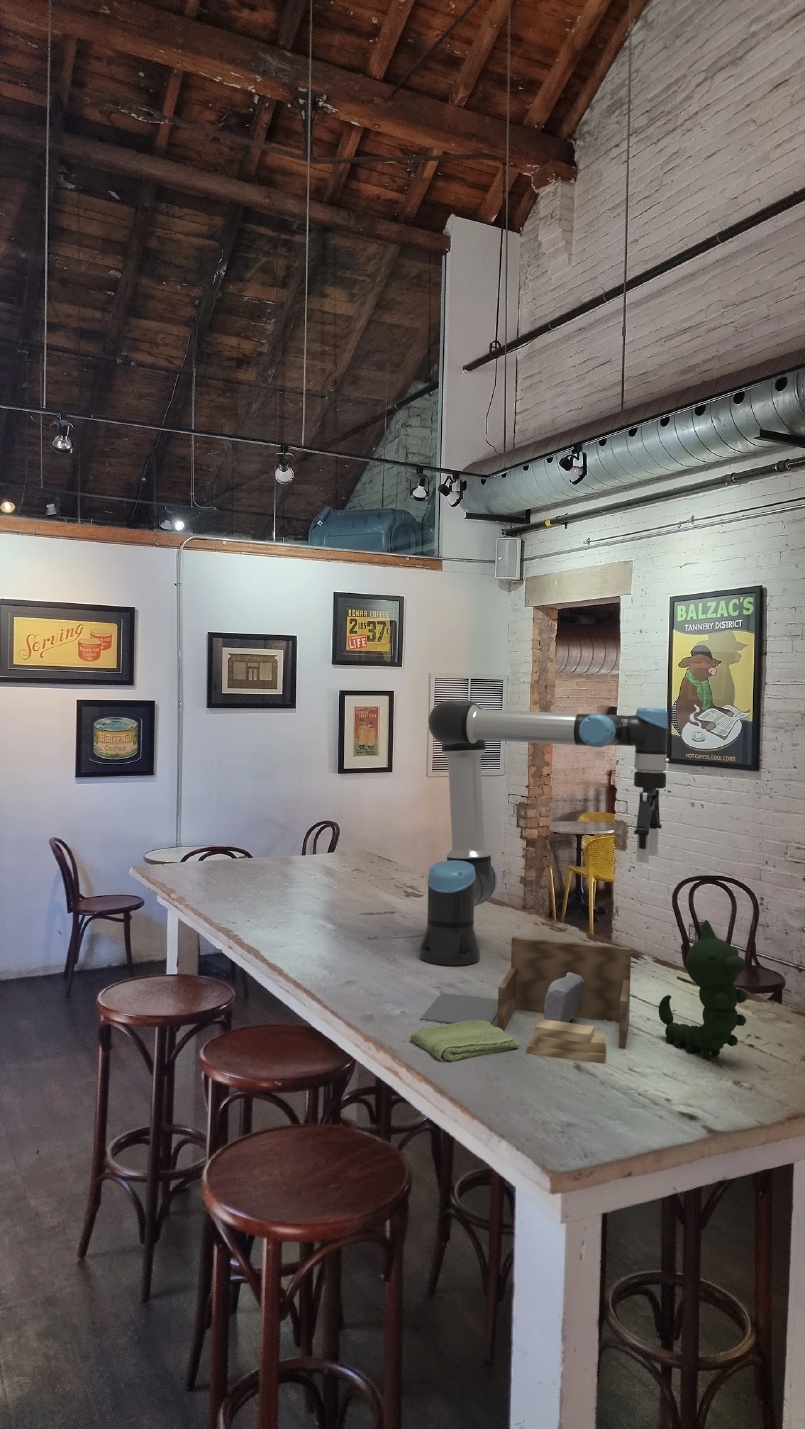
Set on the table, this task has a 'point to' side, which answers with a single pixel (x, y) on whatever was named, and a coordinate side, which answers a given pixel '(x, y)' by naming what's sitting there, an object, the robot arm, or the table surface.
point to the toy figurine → (709, 996)
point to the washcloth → (463, 1040)
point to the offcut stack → (567, 1041)
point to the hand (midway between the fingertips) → (647, 858)
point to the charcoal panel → (461, 1009)
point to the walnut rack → (553, 960)
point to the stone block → (563, 998)
